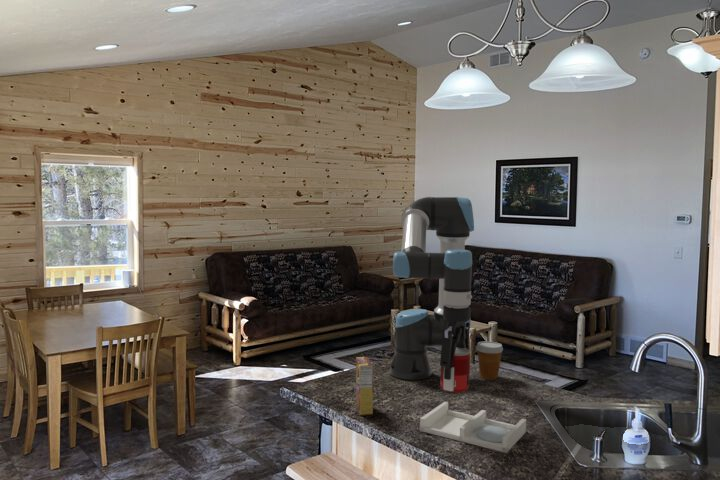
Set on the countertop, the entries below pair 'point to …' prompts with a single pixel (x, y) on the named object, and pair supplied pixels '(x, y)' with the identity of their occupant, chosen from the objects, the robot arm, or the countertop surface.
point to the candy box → (364, 385)
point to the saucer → (491, 433)
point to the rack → (469, 427)
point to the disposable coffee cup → (489, 359)
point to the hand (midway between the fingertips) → (454, 386)
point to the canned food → (459, 370)
